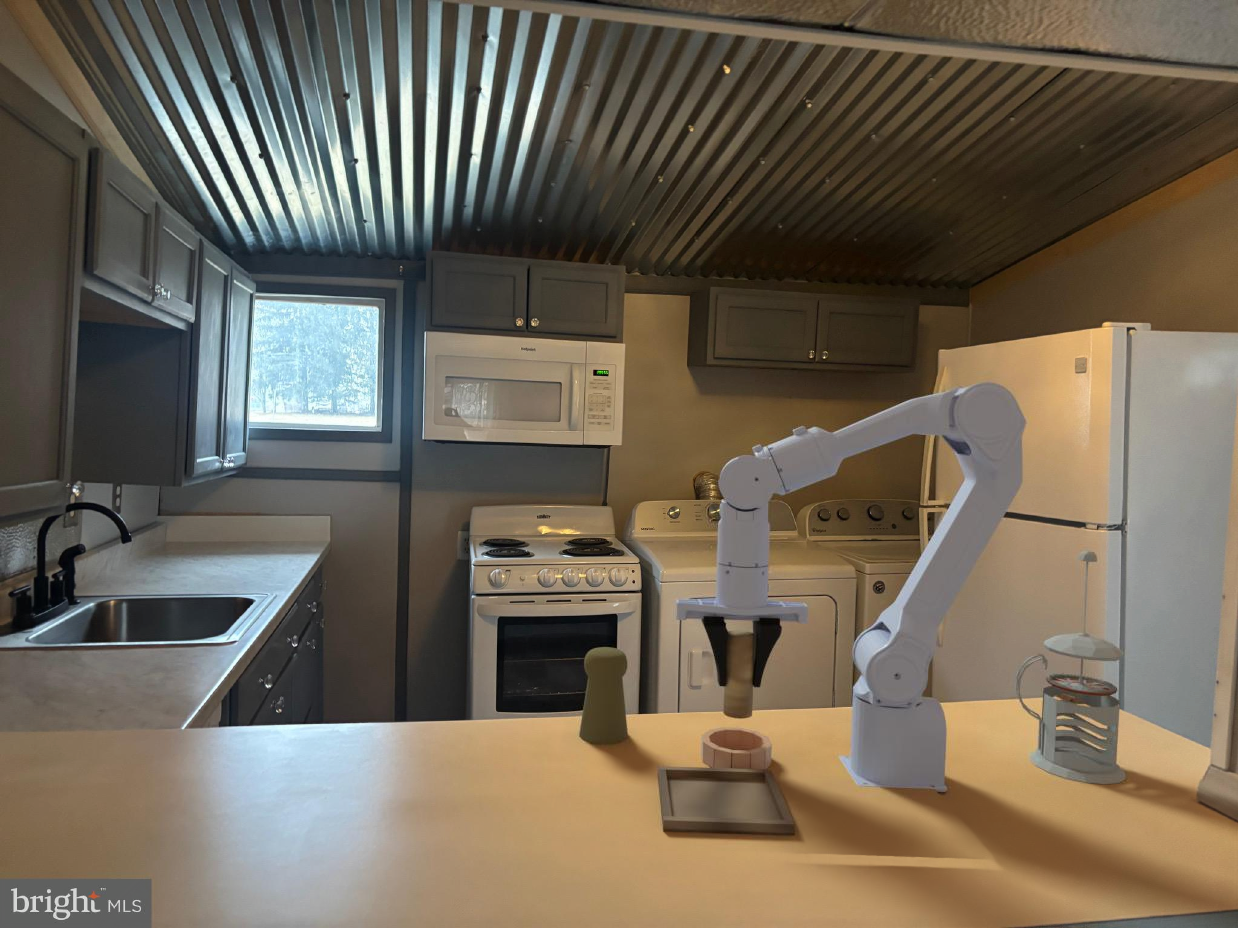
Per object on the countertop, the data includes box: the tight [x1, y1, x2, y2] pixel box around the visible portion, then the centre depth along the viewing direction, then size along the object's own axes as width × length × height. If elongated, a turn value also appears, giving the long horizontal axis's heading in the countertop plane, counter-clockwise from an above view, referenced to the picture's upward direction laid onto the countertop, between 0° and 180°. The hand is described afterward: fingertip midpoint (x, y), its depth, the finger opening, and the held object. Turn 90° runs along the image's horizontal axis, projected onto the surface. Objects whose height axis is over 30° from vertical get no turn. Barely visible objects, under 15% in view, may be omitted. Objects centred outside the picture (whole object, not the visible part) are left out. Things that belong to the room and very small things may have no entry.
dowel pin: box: [723, 630, 755, 720], centre depth 90 cm, size 3×3×9 cm
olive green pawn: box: [578, 646, 629, 746], centre depth 97 cm, size 6×6×11 cm
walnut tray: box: [657, 765, 796, 837], centre depth 80 cm, size 12×12×2 cm
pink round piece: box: [700, 726, 773, 770], centre depth 91 cm, size 8×8×3 cm
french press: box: [1014, 550, 1127, 785], centre depth 93 cm, size 10×12×25 cm
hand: (738, 684), depth 90 cm, fingers closed on dowel pin, 3 cm apart
